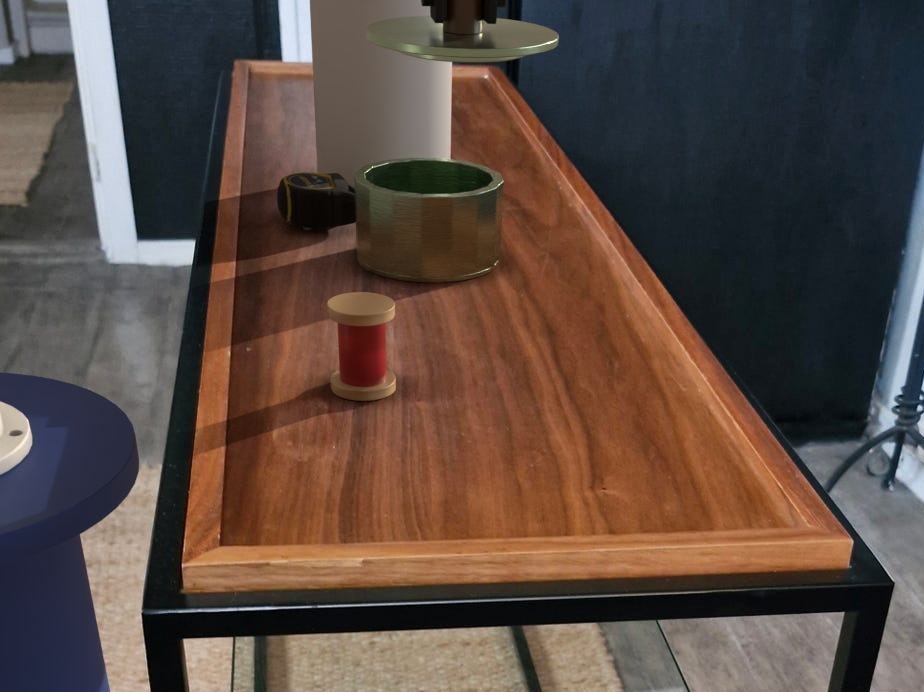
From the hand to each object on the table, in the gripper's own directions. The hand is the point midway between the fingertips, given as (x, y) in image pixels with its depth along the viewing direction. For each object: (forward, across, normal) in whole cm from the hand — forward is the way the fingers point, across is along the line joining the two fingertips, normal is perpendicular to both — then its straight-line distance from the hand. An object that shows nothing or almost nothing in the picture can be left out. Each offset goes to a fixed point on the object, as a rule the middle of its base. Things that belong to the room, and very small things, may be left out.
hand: (462, 17), depth 79 cm
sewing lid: (+1, 0, 0) cm, 1 cm away
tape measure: (+19, +9, -22) cm, 30 cm away
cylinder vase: (+19, +3, -33) cm, 38 cm away
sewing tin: (+19, +1, -12) cm, 22 cm away
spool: (+19, +8, +14) cm, 25 cm away
